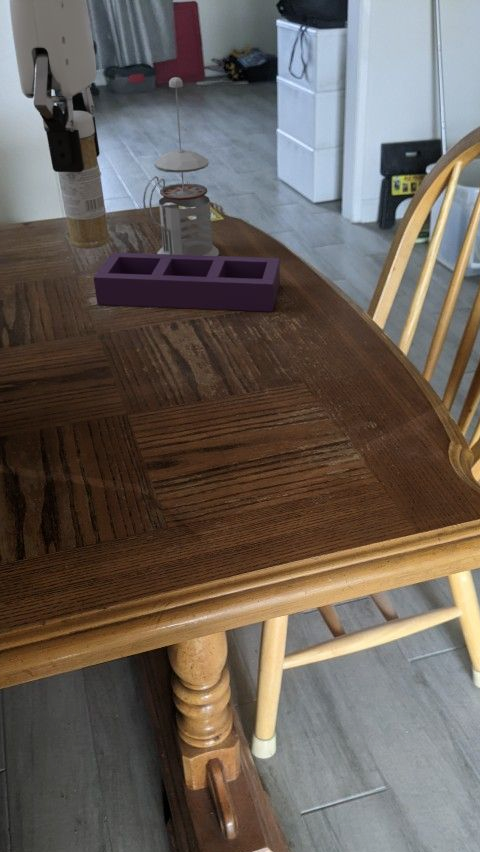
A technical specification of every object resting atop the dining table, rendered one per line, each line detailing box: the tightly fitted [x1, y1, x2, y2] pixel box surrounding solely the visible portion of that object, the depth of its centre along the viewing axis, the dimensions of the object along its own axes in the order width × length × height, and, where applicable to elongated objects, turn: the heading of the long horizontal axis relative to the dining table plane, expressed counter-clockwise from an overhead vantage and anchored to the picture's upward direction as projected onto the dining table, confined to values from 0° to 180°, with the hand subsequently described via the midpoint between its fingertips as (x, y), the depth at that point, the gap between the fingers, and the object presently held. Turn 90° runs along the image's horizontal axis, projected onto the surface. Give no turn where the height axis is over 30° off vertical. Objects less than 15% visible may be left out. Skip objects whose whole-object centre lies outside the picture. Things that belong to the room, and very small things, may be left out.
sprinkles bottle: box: [57, 111, 111, 250], centre depth 84 cm, size 5×5×14 cm
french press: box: [142, 76, 220, 256], centre depth 115 cm, size 10×12×25 cm
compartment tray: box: [93, 251, 281, 313], centre depth 109 cm, size 9×24×4 cm, turn 84°
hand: (77, 161), depth 83 cm, fingers closed on sprinkles bottle, 4 cm apart
